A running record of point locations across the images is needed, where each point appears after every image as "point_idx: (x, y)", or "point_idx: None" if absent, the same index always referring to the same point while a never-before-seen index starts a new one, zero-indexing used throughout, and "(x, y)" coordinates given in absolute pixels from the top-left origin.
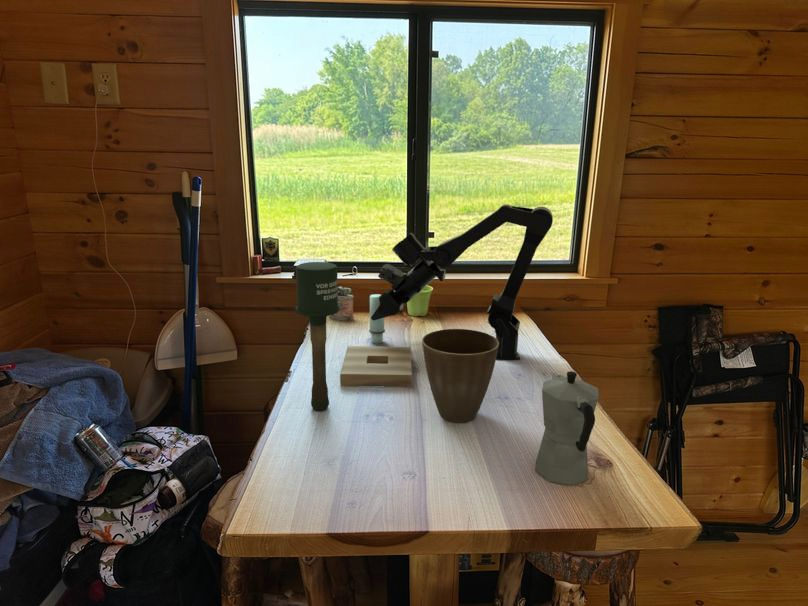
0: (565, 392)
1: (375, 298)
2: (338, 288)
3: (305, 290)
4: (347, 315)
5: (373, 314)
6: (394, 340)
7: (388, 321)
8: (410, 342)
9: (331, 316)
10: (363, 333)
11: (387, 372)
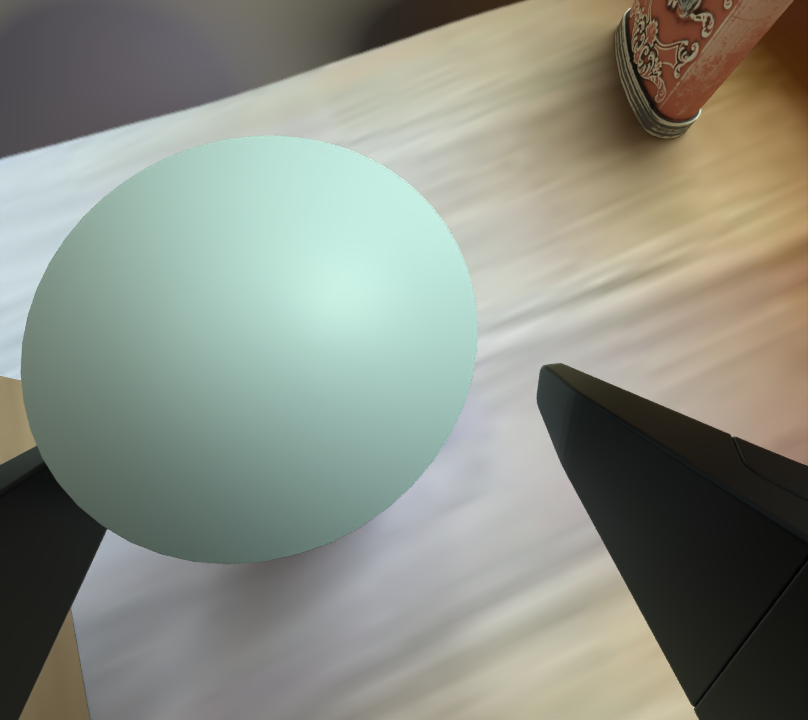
0: None
1: (25, 363)
2: None
3: None
4: (659, 89)
5: (14, 463)
6: (439, 537)
7: (775, 334)
8: (452, 679)
9: (622, 27)
10: (473, 289)
11: None
